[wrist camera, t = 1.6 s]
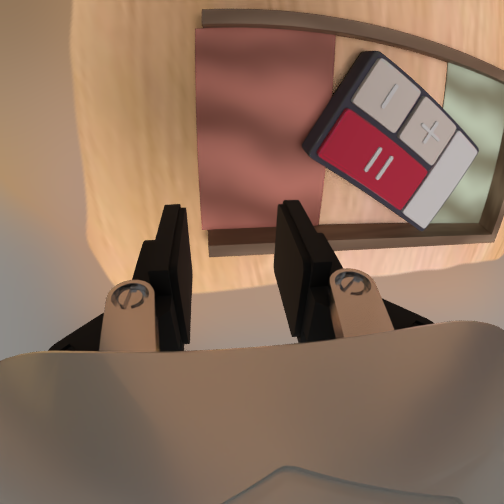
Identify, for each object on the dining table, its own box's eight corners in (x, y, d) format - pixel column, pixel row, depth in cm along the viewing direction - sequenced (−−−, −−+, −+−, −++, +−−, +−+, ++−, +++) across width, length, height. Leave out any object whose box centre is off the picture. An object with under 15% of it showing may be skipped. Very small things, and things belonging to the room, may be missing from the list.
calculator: (380, 48, 19) (485, 152, 24) (360, 49, 23) (461, 140, 28) (308, 158, 24) (426, 237, 29) (297, 145, 28) (407, 217, 33)
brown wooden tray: (195, 15, 20) (193, 10, 18) (515, 80, 24) (532, 86, 21) (203, 240, 32) (202, 257, 29) (481, 230, 35) (493, 242, 33)
